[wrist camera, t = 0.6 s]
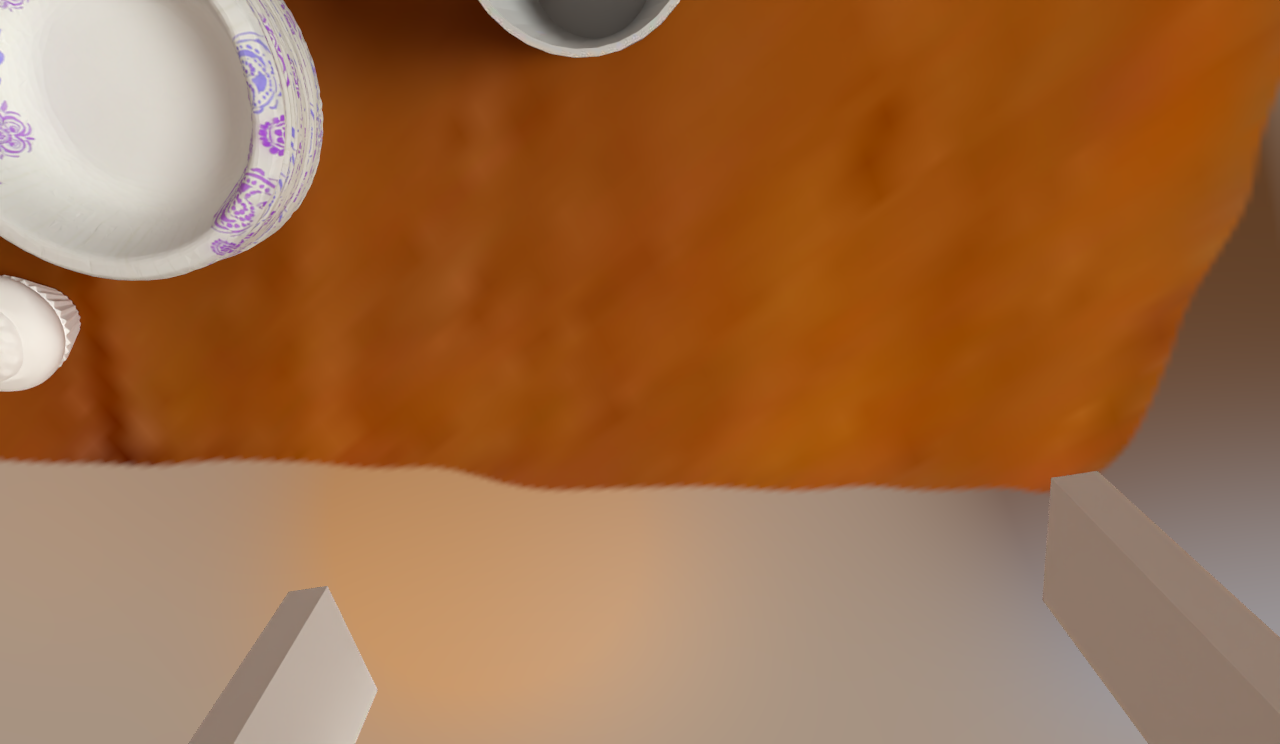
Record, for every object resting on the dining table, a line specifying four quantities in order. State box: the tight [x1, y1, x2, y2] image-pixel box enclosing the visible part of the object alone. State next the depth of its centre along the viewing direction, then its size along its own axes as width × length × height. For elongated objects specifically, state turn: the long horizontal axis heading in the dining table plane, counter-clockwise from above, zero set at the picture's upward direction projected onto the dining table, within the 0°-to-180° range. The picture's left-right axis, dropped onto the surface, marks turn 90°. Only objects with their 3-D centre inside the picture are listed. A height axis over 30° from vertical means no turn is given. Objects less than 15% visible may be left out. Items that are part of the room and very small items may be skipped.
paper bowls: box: [0, 0, 323, 281], centre depth 30 cm, size 15×15×8 cm
